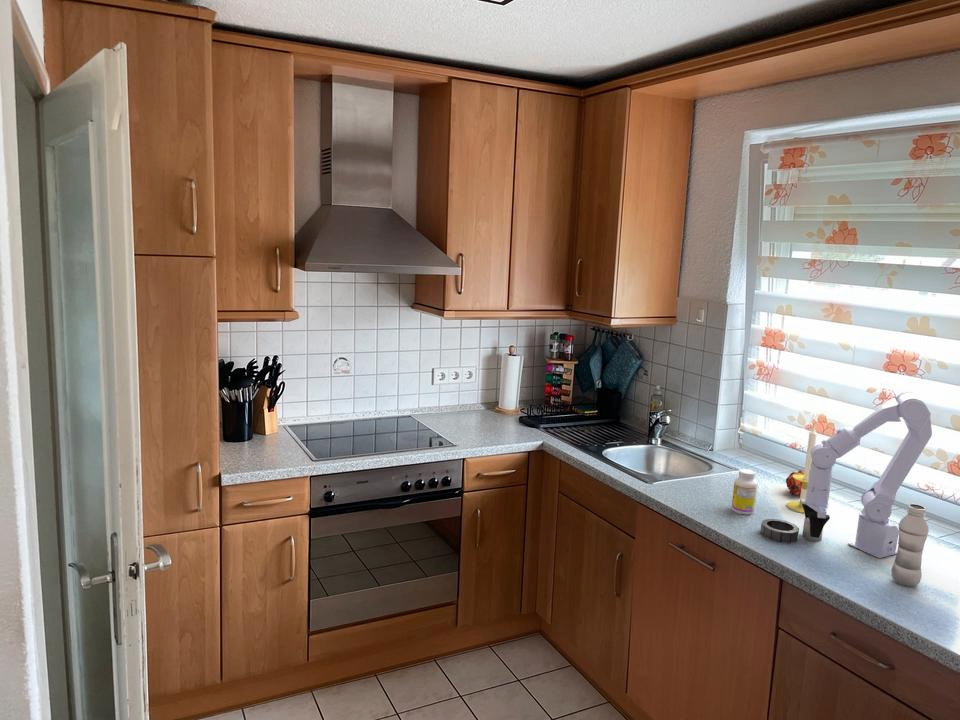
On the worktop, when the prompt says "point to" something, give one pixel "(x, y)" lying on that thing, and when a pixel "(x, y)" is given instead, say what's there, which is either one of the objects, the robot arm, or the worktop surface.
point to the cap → (807, 531)
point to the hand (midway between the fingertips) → (812, 532)
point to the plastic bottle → (910, 547)
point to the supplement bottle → (744, 492)
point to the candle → (804, 477)
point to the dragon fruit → (794, 484)
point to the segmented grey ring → (779, 530)
